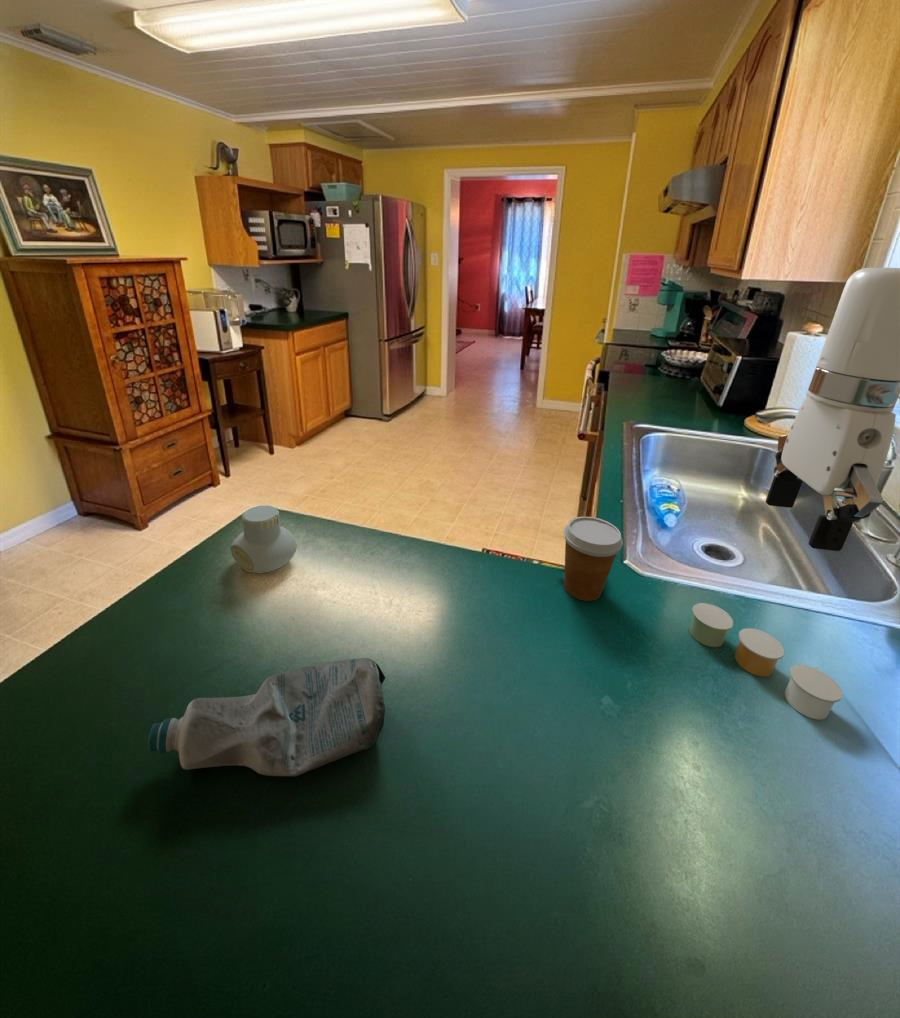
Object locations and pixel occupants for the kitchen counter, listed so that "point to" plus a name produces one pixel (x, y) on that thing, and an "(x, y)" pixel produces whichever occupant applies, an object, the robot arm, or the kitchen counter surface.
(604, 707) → the kitchen counter surface
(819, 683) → the white pod
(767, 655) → the caramel pod
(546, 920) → the kitchen counter surface
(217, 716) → the detergent
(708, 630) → the cylinder
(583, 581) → the disposable coffee cup
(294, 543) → the air freshener
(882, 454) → the robot arm
